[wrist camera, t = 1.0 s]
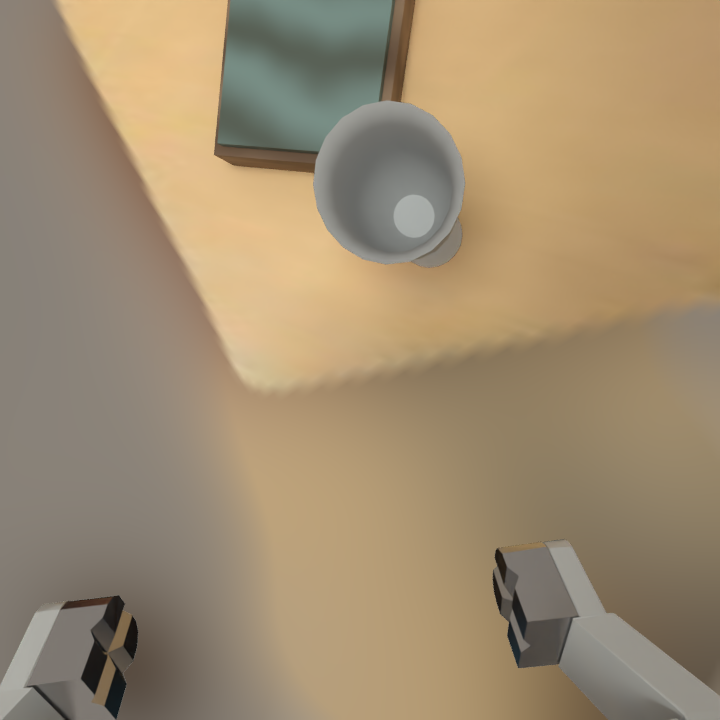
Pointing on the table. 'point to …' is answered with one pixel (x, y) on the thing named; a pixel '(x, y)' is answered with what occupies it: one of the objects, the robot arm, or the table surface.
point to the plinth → (304, 74)
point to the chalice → (391, 185)
